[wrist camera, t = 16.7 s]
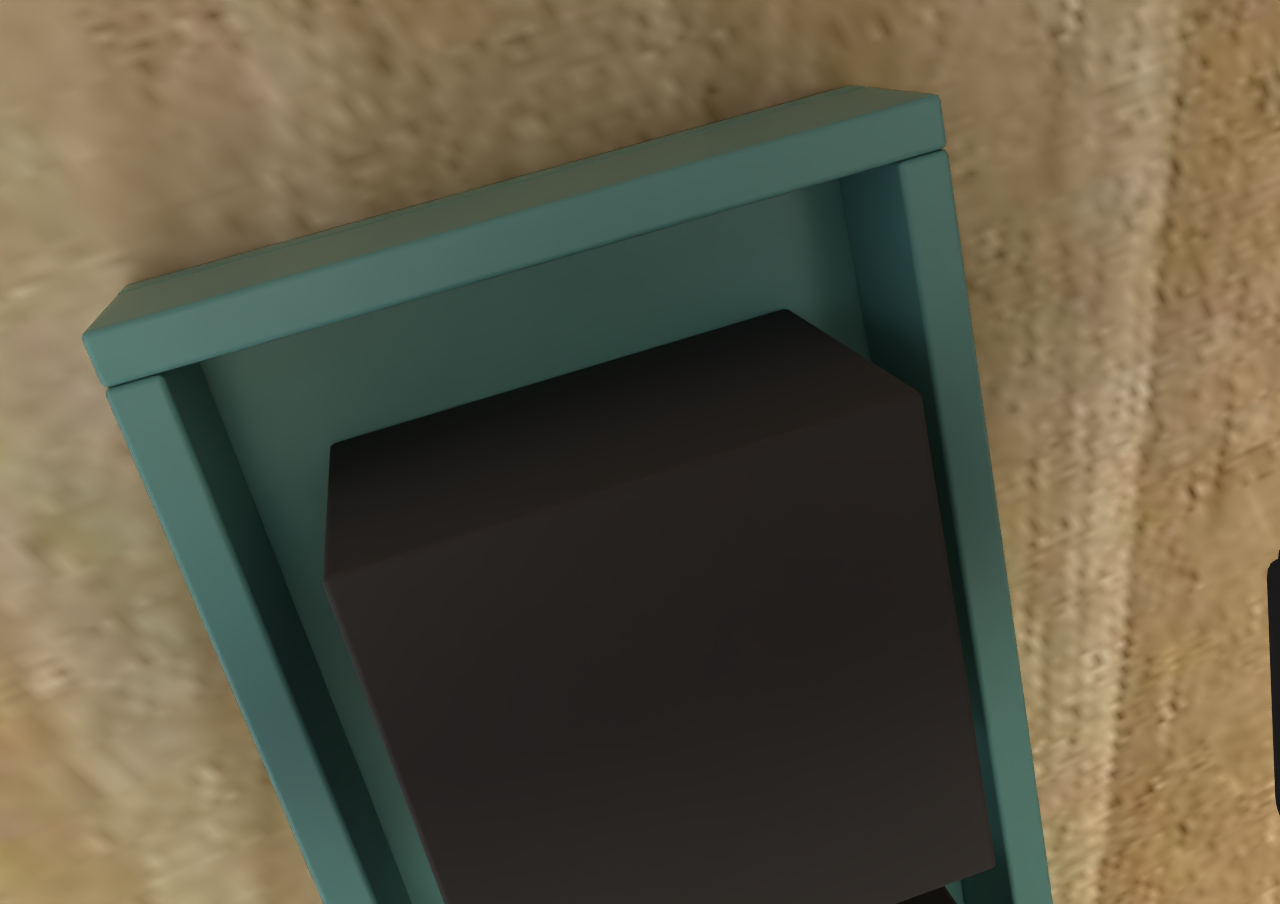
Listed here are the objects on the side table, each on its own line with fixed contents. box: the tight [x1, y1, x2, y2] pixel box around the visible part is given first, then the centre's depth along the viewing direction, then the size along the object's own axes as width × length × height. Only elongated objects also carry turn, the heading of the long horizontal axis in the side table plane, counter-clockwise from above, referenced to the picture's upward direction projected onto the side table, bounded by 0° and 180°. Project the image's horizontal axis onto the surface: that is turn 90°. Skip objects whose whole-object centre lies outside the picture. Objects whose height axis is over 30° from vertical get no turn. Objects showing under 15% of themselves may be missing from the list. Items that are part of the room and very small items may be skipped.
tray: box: [82, 85, 1053, 904], centre depth 17 cm, size 17×9×2 cm, turn 14°
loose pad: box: [323, 309, 996, 904], centre depth 14 cm, size 6×6×4 cm
